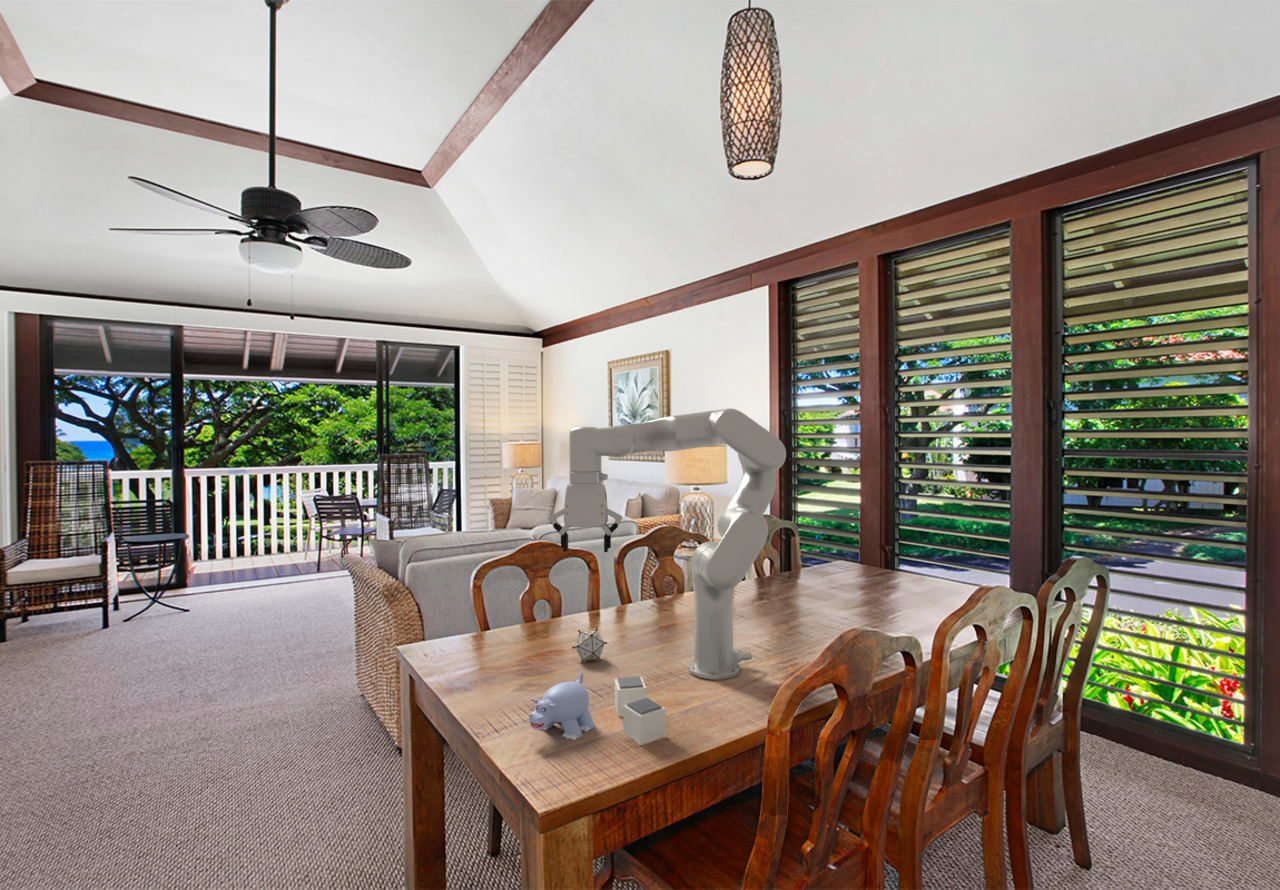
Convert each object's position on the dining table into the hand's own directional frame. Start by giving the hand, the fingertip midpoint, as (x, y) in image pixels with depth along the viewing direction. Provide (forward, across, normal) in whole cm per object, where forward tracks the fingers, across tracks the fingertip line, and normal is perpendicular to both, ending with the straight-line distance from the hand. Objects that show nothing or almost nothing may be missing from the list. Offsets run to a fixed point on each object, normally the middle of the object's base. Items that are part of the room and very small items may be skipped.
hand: (585, 551), depth 147 cm
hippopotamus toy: (+32, +2, +24) cm, 40 cm away
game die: (+31, +1, -14) cm, 34 cm away
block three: (+31, -11, +14) cm, 36 cm away
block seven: (+31, -15, +26) cm, 43 cm away
